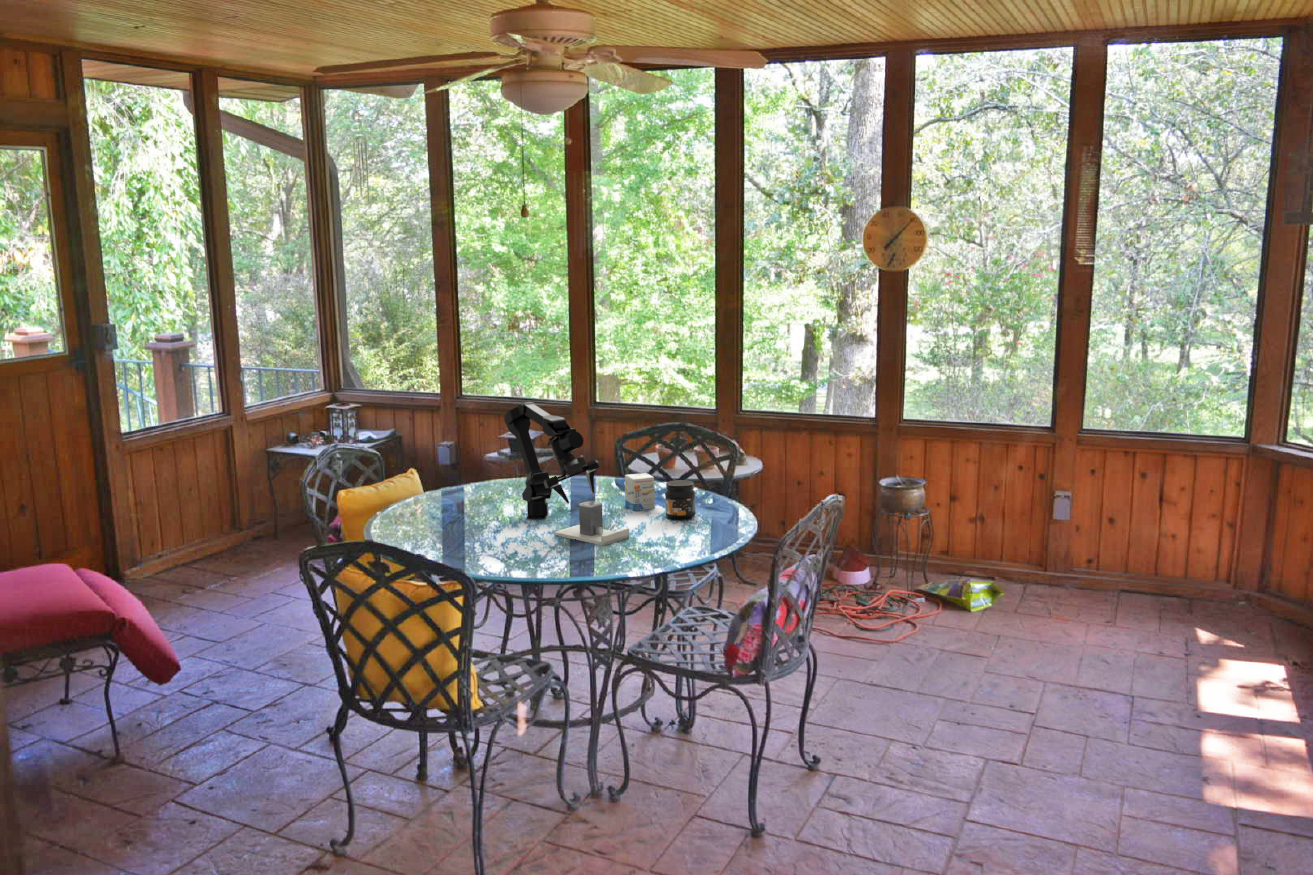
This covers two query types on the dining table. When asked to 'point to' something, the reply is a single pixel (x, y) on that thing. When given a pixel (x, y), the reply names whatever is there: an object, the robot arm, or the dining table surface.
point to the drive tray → (600, 538)
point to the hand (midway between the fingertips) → (581, 498)
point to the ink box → (639, 491)
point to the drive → (590, 517)
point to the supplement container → (680, 499)
